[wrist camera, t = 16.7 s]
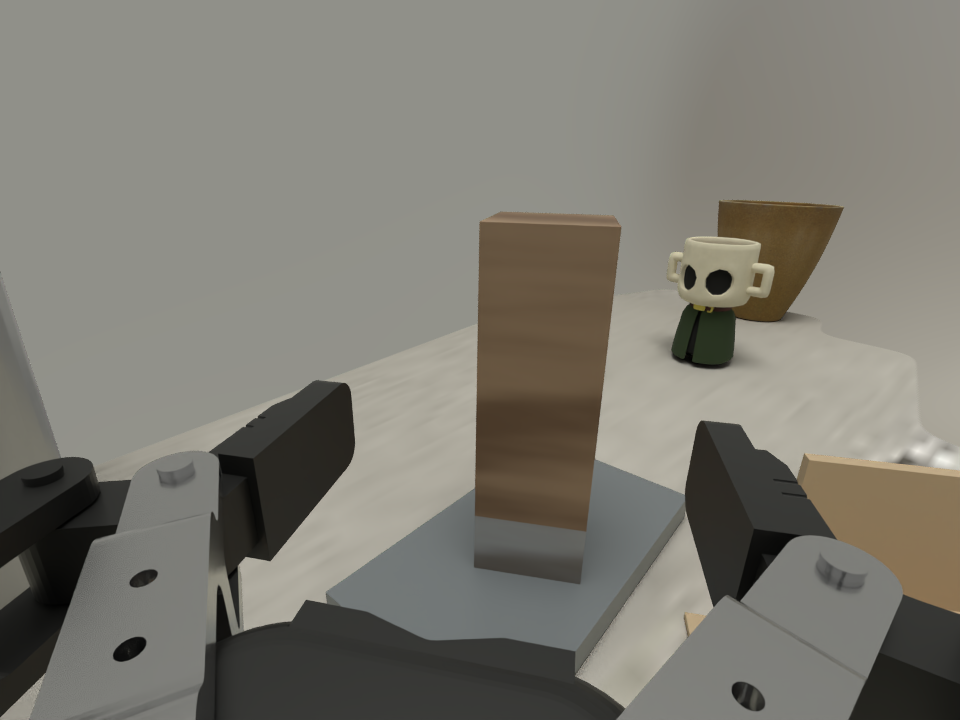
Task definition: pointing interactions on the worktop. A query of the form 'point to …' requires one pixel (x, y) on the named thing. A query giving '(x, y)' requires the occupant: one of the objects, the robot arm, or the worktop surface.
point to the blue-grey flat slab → (511, 597)
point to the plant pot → (779, 246)
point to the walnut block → (540, 386)
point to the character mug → (714, 293)
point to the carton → (890, 521)
